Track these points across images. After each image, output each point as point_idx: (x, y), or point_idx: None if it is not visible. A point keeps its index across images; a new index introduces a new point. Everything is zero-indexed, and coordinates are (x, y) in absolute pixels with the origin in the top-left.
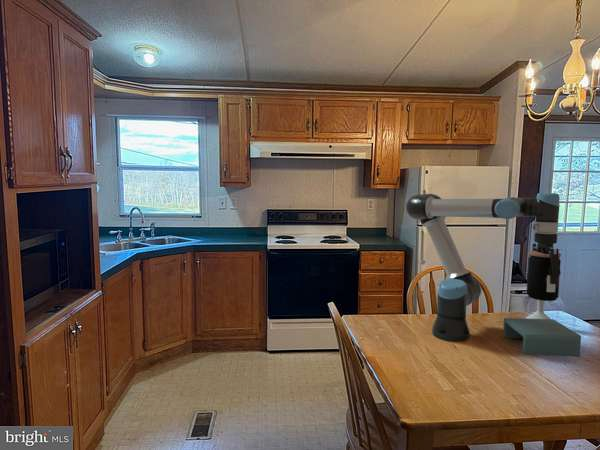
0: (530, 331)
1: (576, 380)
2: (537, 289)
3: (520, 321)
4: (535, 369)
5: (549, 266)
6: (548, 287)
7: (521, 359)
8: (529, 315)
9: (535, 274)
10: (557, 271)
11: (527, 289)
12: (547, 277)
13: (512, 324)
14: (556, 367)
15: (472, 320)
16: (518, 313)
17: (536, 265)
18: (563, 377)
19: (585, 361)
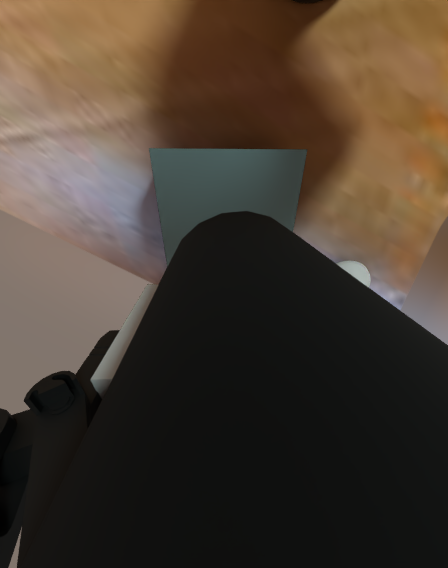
0: (181, 182)
1: (54, 208)
2: (180, 247)
3: (269, 196)
4: (77, 136)
5: (21, 544)
6: (139, 303)
7: (131, 127)
8: (363, 276)
9: (179, 291)
10: (18, 484)
11: (261, 217)
12: (123, 355)
13: (242, 149)
14: (108, 199)
15: (423, 105)
16: (412, 274)
17: (128, 443)
18: (57, 187)
19: (157, 273)
